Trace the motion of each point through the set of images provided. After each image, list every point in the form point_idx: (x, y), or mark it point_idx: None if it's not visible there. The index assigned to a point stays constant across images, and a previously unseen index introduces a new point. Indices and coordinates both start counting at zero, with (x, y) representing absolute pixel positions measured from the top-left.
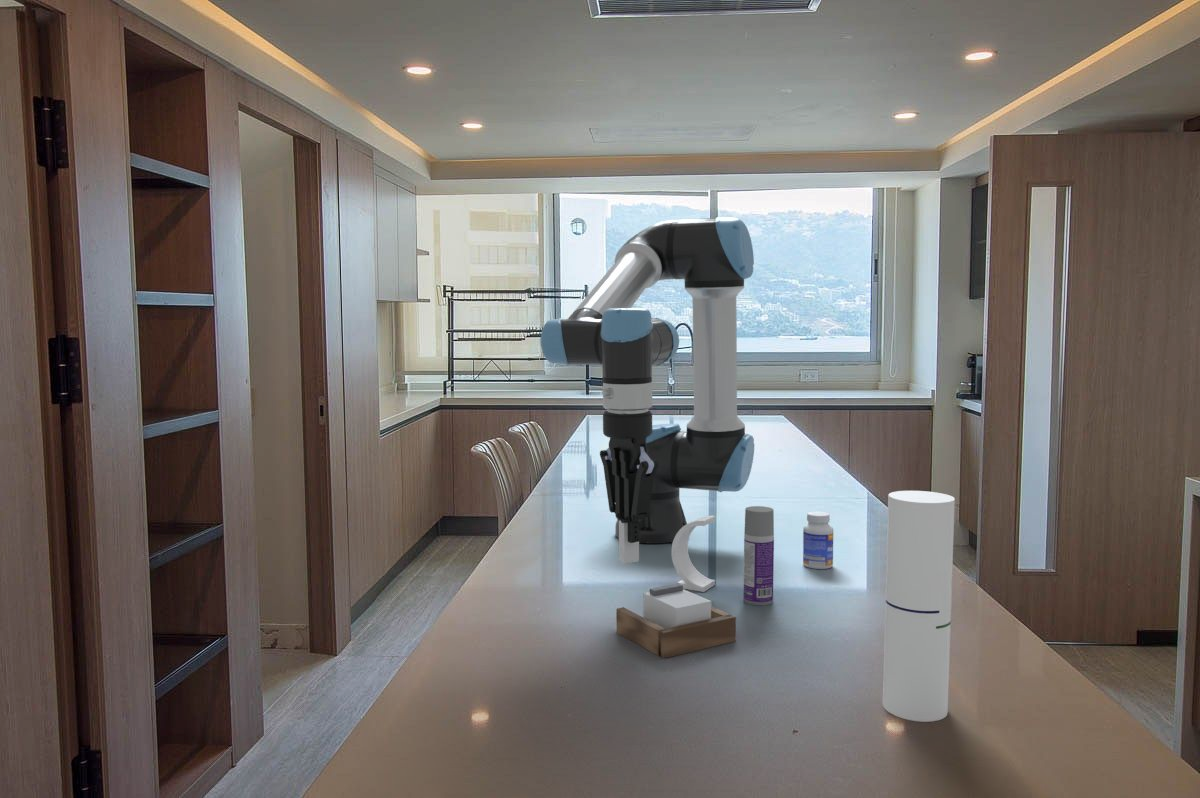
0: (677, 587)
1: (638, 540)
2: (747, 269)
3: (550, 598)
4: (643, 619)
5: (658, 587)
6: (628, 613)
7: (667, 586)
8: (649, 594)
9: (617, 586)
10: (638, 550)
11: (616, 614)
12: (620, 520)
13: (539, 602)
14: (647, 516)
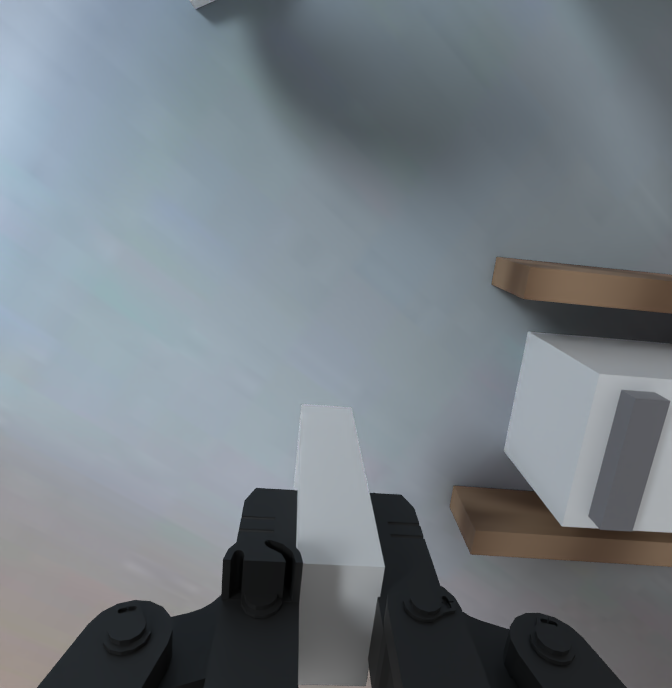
0: (658, 425)
1: (405, 505)
2: None
3: (57, 493)
4: (607, 549)
5: (615, 496)
6: (532, 551)
7: (632, 461)
8: (589, 519)
9: (47, 219)
10: (355, 435)
11: (465, 541)
12: (299, 677)
13: (78, 538)
14: (581, 649)
